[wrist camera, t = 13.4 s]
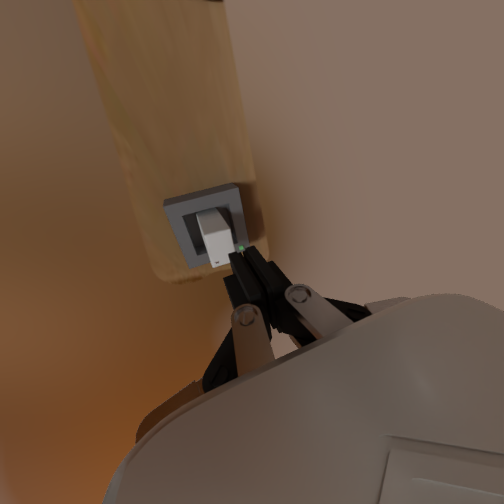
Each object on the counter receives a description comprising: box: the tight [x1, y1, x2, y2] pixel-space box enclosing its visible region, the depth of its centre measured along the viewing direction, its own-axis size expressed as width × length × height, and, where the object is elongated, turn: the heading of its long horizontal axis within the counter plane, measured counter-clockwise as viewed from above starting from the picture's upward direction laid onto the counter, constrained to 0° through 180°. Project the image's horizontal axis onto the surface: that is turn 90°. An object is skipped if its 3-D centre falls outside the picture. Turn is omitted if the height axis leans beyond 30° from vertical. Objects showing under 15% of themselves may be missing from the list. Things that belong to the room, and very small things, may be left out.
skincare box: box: [196, 207, 235, 268], centre depth 35 cm, size 6×4×12 cm
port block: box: [163, 183, 250, 269], centre depth 38 cm, size 13×13×5 cm
